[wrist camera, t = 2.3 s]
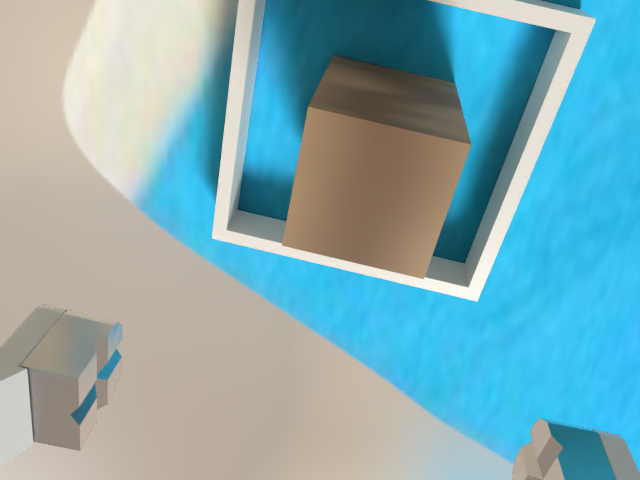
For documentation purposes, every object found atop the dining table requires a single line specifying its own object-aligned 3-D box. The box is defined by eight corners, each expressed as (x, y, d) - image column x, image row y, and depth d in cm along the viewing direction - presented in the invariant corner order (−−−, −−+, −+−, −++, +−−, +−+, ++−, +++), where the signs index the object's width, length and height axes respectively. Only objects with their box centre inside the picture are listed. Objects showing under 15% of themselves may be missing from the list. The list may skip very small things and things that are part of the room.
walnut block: (454, 82, 23) (471, 144, 17) (420, 192, 26) (424, 279, 20) (333, 54, 23) (307, 106, 17) (311, 166, 26) (281, 245, 20)
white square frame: (581, 10, 21) (596, 18, 20) (473, 276, 28) (477, 301, 26) (258, -65, 22) (245, -62, 20) (224, 217, 28) (212, 238, 26)
